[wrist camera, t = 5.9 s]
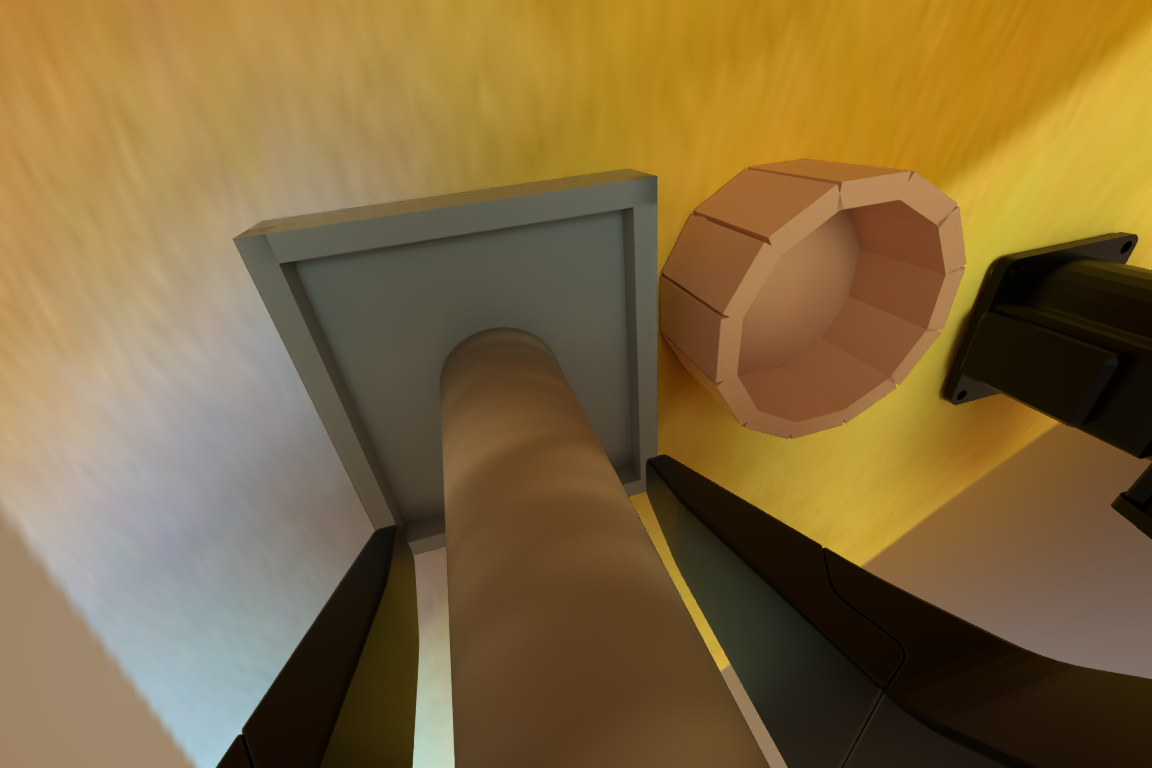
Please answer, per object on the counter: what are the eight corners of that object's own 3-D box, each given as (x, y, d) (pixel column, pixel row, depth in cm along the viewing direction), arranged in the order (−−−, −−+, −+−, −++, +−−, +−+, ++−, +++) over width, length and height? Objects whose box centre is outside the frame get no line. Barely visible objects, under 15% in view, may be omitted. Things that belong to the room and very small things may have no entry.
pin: (551, 316, 12) (800, 719, 4) (565, 416, 14) (756, 837, 6) (425, 341, 12) (415, 877, 3) (455, 443, 14) (497, 955, 5)
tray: (629, 168, 12) (657, 176, 10) (637, 455, 17) (657, 488, 16) (261, 221, 10) (232, 238, 9) (394, 519, 16) (390, 561, 14)
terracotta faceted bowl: (884, 147, 14) (1006, 155, 11) (834, 356, 17) (915, 405, 14) (661, 180, 12) (730, 200, 9) (660, 398, 16) (709, 460, 13)
